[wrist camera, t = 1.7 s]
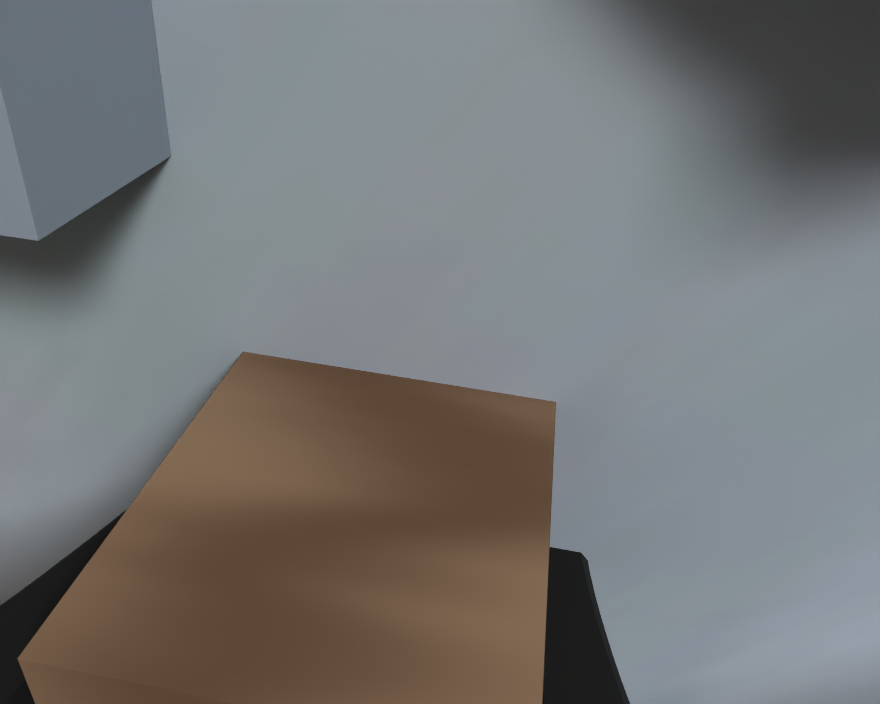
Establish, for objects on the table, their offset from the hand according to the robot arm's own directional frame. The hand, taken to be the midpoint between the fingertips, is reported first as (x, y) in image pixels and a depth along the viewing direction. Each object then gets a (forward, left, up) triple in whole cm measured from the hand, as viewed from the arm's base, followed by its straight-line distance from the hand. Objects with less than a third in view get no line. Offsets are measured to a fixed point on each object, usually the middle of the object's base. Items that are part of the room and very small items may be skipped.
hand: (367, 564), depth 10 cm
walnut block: (0, 0, -2) cm, 2 cm away
